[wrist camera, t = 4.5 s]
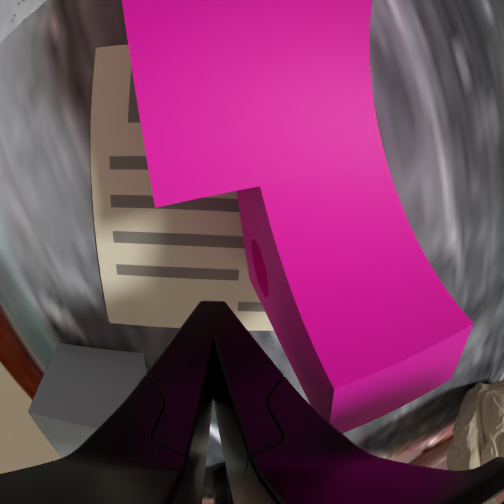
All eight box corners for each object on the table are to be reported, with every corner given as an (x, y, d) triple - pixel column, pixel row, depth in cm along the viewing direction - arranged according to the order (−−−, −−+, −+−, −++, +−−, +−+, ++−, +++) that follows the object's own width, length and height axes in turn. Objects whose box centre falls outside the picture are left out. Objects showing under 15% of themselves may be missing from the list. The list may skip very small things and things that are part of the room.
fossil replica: (517, 364, 22) (563, 427, 13) (470, 417, 25) (506, 480, 16) (462, 362, 19) (524, 457, 10) (403, 428, 22) (442, 516, 13)
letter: (314, 328, 15) (315, 330, 15) (109, 321, 14) (109, 323, 14) (365, 68, 10) (366, 67, 10) (97, 47, 8) (95, 47, 8)
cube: (154, 406, 17) (147, 476, 13) (81, 397, 16) (63, 460, 12) (144, 351, 15) (128, 432, 10) (59, 342, 14) (28, 411, 10)
